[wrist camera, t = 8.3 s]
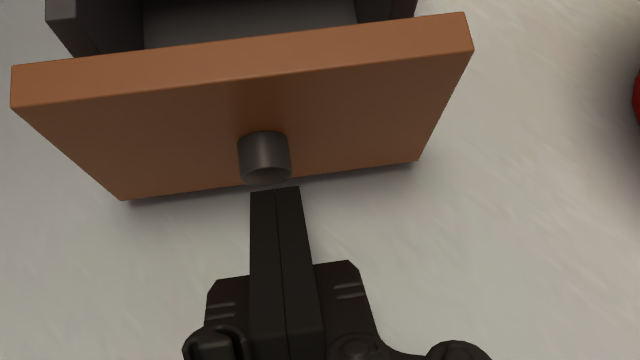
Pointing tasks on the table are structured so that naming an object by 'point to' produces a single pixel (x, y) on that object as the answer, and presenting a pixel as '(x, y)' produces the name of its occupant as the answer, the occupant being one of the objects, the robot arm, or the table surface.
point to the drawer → (239, 88)
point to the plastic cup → (637, 97)
